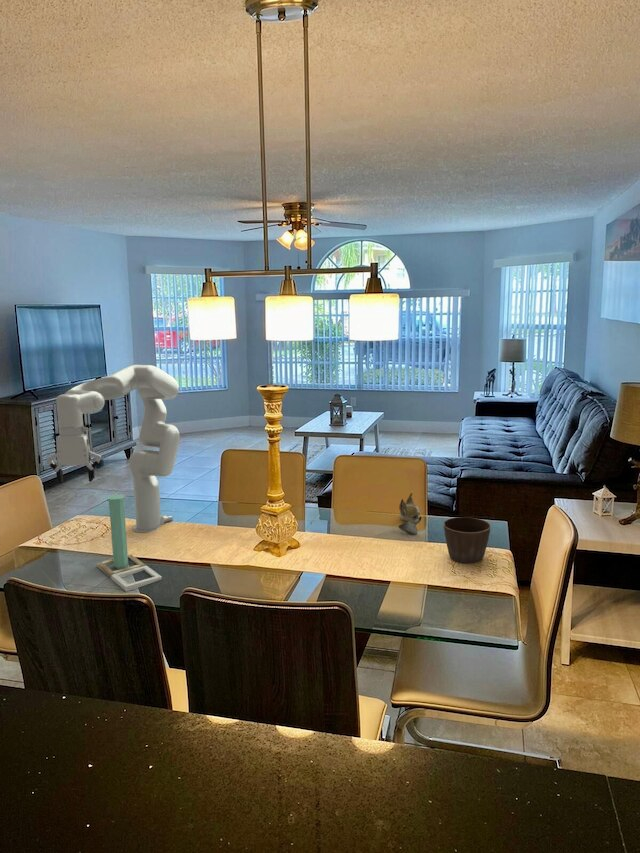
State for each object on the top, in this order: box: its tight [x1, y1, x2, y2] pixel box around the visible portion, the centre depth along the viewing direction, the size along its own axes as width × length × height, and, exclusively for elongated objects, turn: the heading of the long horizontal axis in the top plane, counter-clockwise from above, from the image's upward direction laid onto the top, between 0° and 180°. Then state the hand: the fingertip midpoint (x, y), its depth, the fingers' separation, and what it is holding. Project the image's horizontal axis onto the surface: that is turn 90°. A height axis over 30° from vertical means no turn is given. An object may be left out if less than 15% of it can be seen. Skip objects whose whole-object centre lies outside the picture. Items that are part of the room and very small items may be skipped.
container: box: [107, 493, 129, 570], centre depth 213 cm, size 6×6×25 cm
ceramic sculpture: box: [398, 492, 422, 536], centre depth 242 cm, size 11×9×15 cm
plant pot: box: [443, 516, 492, 565], centre depth 207 cm, size 15×15×16 cm
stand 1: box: [96, 554, 146, 579], centre depth 215 cm, size 12×12×2 cm
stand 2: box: [110, 565, 163, 592], centre depth 205 cm, size 12×12×2 cm
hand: (76, 481), depth 212 cm, fingers open, 9 cm apart
